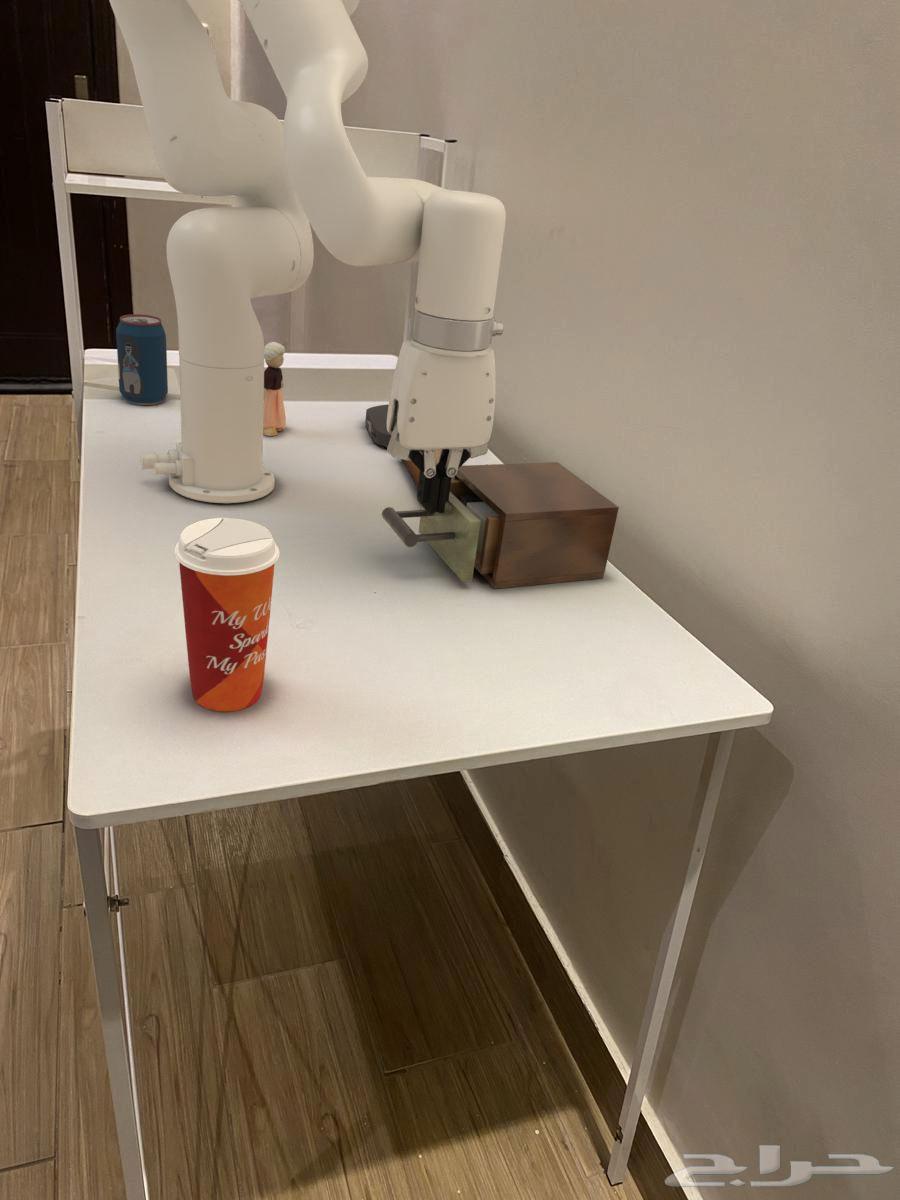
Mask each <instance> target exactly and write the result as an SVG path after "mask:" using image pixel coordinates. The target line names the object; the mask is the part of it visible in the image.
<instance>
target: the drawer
mask: <svg viewBox="0 0 900 1200" xmlns="http://www.w3.org/2000/svg"><path fill="white" fill-rule="evenodd" d="M460 495H476V494H475V493H474V492H473V491H472V490H471V489H470V488H469V487H468V486H467V485H466V484H464V483H463V482H462V481H461V480H460V479H458V480H451V486H450V494H449V501H448V502H446V504H445V512H444V513H438V512H435V513H434V514H429V513H428V512H427V511H426V510H425V509H424V508H423V506H422V505H421V506H420V507H421V508H420V509H413V510H412V509H410V510H395V508H393V507H392V506H391V507H390V506H388V507H385V508H384V509H383V510H382V512H381V517H382V518H383V520H384V521H385V522H386V523H387V525H388V526H389V527H390V529H392V531H393V532H394V533H395V534H396V535H397V536H398V538H399V539H400V541H401V542H402V543H403V544H404V546H406V547H408V548H413V547H415V546H416V545H417V544H418V543H420V542H426V543H428V544H429V546H430V547H431V548H432V549H433V550H434V551H435V553H436V554H437V555H438V556H439V557H440V558H441V560H442V561H443V562H444V563H445V564H446V565H447V566H448V568H450V570H451V571H452V572H453V573H454V574H455V575H456V577H457V578H458V579H459V580H460V581H461V582H472V581H473V579H474V578H473V577H474V570H476V571H477V570H478V571H479V572H480V573H481V574H488V573H493V572H494V565H495V559H496V552H497V546H498V540H499V533H500V527H501V520H502V518H501V517H500V516H489V517H486V522H485V529H484V536H483V543H482V550H481V554H480V553H479V552H478V551H477V544H478V537H479V530H480V523H481V521H480V520H479V519H478V518H477V517H476V516H475V515H474V514H473V513H472V512H471V511H470V510H468V509H467V508H466V507H465V506H464V505H463V504H462V503H461V502H460ZM405 518H419V524H418V525H419V526H418V534H416V533H415V531H413V530H412V528H411V527H410V526H409V525H408V524H407V522H406V521H405V520H404V519H405ZM478 571H477V572H478ZM479 572H478V573H479ZM480 573H479V574H480ZM481 574H480V575H481Z"/></svg>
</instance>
